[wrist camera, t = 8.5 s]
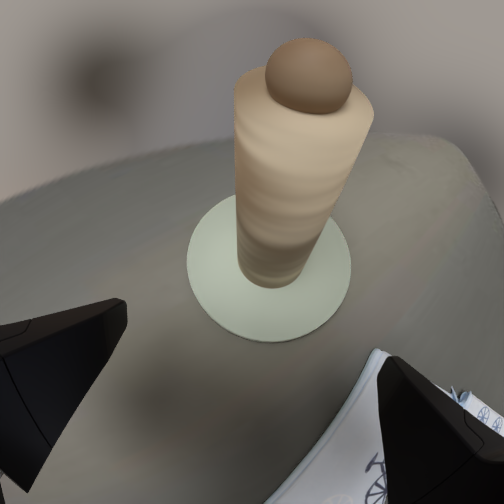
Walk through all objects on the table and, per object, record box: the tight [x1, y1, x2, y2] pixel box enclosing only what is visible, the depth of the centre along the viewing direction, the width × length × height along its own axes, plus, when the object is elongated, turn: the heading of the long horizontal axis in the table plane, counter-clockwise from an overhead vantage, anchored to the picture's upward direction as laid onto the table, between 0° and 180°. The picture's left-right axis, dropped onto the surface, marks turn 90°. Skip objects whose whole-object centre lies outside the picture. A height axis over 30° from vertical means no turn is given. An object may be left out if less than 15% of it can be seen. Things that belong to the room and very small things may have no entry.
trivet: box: [187, 195, 351, 343], centre depth 19 cm, size 11×11×1 cm
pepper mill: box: [234, 38, 374, 289], centre depth 12 cm, size 4×4×14 cm
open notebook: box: [263, 348, 504, 504], centre depth 11 cm, size 19×20×2 cm
